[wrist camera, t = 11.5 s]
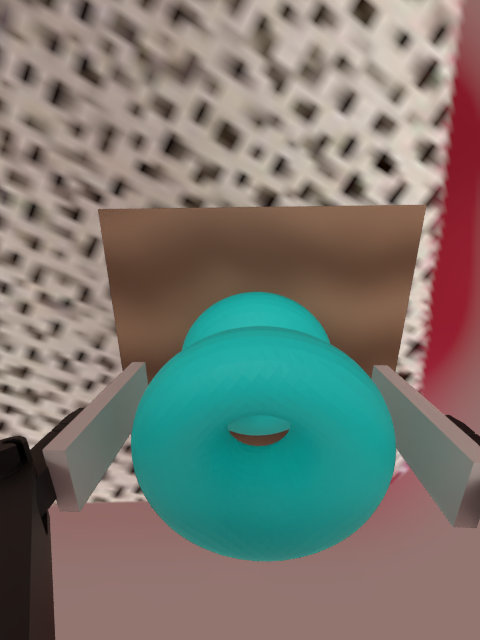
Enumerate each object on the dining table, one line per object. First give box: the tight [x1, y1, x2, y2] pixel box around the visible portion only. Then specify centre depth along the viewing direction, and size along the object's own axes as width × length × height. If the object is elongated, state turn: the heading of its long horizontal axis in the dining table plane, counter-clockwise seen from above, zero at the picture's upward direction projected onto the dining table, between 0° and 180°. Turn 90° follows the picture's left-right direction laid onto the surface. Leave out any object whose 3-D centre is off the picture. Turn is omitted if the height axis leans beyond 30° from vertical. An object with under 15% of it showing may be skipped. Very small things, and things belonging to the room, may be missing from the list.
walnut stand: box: [98, 205, 426, 446], centre depth 20 cm, size 20×20×5 cm
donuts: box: [131, 292, 396, 561], centre depth 13 cm, size 10×10×10 cm
